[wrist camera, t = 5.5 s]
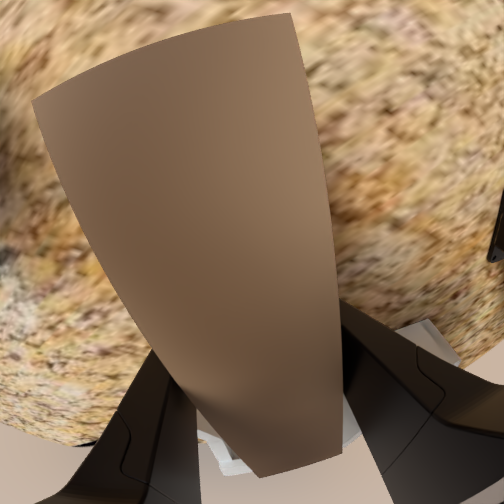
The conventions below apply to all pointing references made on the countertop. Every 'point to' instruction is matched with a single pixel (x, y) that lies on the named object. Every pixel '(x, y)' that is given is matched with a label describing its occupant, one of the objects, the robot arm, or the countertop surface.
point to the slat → (215, 226)
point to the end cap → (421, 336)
